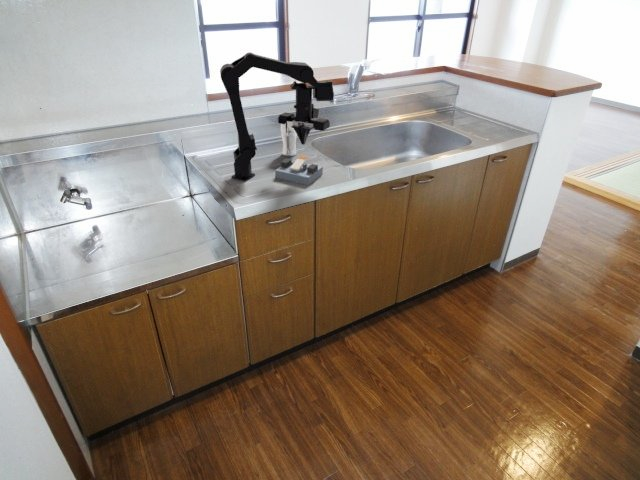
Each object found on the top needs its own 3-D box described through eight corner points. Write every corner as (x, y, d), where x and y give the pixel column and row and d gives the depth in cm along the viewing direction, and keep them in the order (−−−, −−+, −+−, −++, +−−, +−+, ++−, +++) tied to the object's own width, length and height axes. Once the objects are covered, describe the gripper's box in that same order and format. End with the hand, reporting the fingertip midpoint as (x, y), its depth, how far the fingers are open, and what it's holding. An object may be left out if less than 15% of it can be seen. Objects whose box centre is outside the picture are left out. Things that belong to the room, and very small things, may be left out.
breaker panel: (308, 185, 155) (308, 172, 152) (275, 177, 160) (274, 164, 157) (322, 174, 164) (322, 161, 161) (290, 167, 169) (290, 154, 166)
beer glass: (298, 151, 184) (298, 116, 177) (296, 157, 179) (296, 121, 171) (282, 150, 185) (282, 116, 177) (279, 156, 179) (279, 120, 171)
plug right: (312, 173, 156) (312, 168, 155) (307, 172, 157) (307, 167, 156) (317, 170, 159) (317, 165, 158) (311, 168, 160) (312, 163, 159)
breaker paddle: (298, 171, 156) (298, 169, 156) (290, 169, 158) (289, 167, 157) (308, 158, 161) (307, 156, 160) (300, 156, 162) (299, 154, 162)
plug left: (286, 168, 160) (286, 163, 159) (281, 166, 161) (280, 161, 160) (291, 164, 163) (291, 159, 162) (286, 163, 164) (286, 158, 163)
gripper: (336, 100, 153) (334, 142, 161) (291, 93, 160) (292, 134, 168) (323, 107, 144) (322, 151, 153) (276, 99, 151) (277, 142, 159)
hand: (303, 144), depth 158 cm, fingers closed
